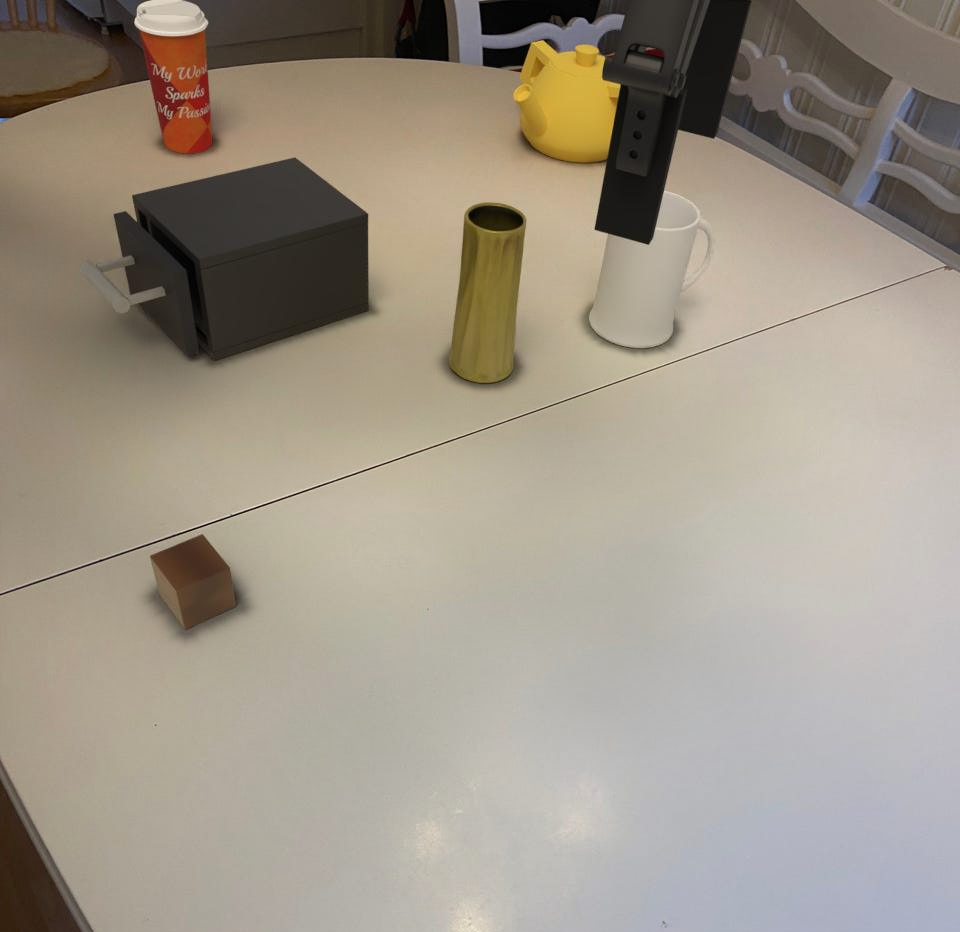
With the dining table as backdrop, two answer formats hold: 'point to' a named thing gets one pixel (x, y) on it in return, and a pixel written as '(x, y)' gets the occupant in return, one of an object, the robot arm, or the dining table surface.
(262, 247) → the dark grey storage box
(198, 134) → the paper cup
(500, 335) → the vase
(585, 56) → the teapot
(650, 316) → the mug
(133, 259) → the drawer
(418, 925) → the dining table surface
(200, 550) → the block
